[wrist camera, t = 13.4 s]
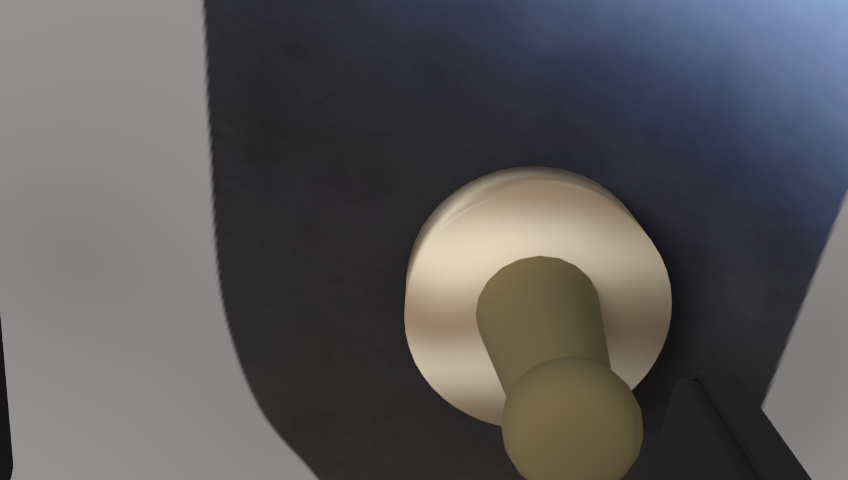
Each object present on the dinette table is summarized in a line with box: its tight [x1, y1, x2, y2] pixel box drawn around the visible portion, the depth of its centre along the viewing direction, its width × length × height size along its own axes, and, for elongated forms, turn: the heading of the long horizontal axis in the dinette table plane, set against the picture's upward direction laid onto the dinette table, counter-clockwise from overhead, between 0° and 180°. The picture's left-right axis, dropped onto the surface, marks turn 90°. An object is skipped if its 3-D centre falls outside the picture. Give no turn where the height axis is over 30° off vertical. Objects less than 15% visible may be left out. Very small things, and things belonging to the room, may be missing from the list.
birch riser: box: [404, 166, 672, 426], centre depth 39 cm, size 13×13×4 cm
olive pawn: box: [476, 256, 643, 480], centre depth 32 cm, size 6×6×11 cm
